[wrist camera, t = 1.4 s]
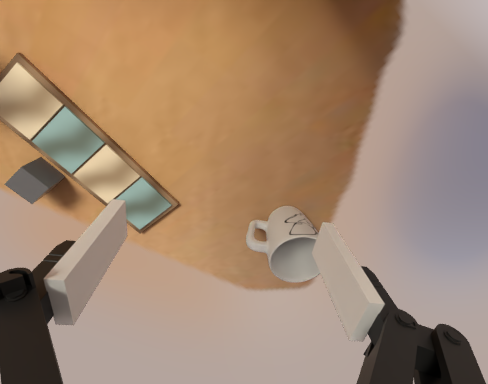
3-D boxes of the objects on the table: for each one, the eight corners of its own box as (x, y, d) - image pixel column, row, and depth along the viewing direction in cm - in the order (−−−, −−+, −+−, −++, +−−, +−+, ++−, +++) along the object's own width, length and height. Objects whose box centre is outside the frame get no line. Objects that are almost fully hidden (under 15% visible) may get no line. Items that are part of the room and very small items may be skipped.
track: (-19, 101, 33) (-25, 102, 32) (20, 53, 31) (15, 52, 30) (141, 231, 44) (139, 234, 43) (179, 202, 41) (178, 205, 40)
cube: (25, 172, 38) (4, 184, 34) (41, 156, 37) (21, 167, 33) (50, 191, 39) (32, 204, 36) (65, 176, 38) (48, 188, 35)
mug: (240, 235, 45) (242, 278, 36) (248, 194, 41) (253, 230, 32) (302, 242, 46) (319, 285, 37) (315, 202, 42) (337, 239, 34)
